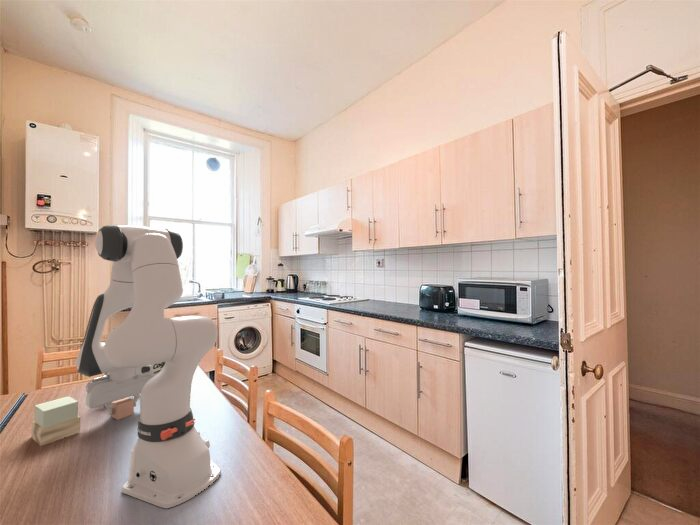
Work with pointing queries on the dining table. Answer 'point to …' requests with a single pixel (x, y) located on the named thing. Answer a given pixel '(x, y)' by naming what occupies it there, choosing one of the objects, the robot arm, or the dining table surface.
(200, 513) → the dining table surface
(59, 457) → the dining table surface
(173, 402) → the robot arm
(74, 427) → the birch base block
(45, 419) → the sage middle block
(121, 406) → the terracotta cube
